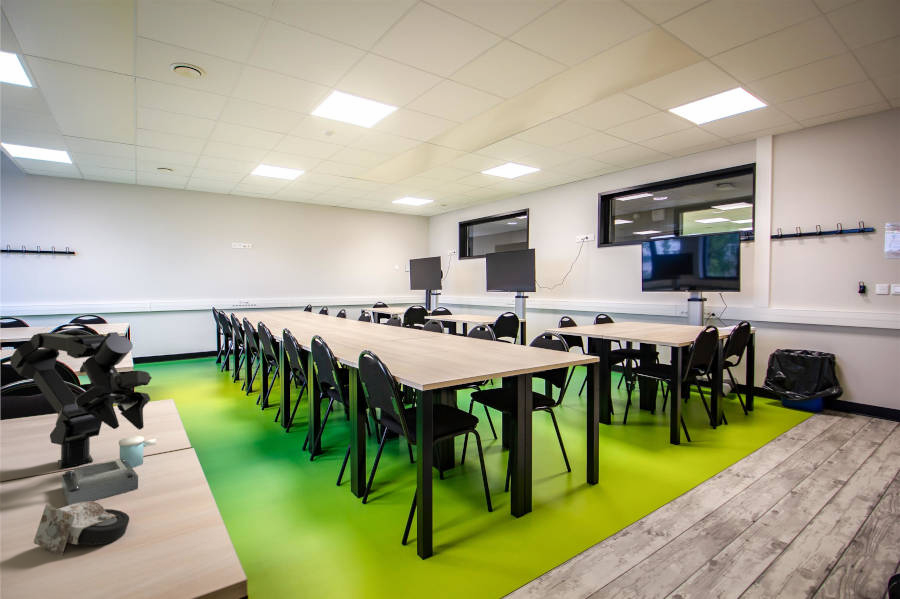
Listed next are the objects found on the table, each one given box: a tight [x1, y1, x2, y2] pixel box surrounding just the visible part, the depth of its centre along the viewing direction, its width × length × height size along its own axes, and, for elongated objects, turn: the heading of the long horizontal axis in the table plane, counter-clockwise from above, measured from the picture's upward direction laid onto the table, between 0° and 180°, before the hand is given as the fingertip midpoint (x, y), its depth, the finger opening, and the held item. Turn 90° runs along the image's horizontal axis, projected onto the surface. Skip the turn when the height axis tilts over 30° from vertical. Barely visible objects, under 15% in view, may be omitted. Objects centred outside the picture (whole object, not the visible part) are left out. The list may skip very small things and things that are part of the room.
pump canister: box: [118, 435, 157, 468], centre depth 113 cm, size 5×8×7 cm
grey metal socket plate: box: [61, 458, 139, 506], centre depth 98 cm, size 13×12×4 cm
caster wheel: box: [33, 501, 130, 556], centre depth 78 cm, size 7×11×10 cm
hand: (129, 428), depth 105 cm, fingers open, 9 cm apart
